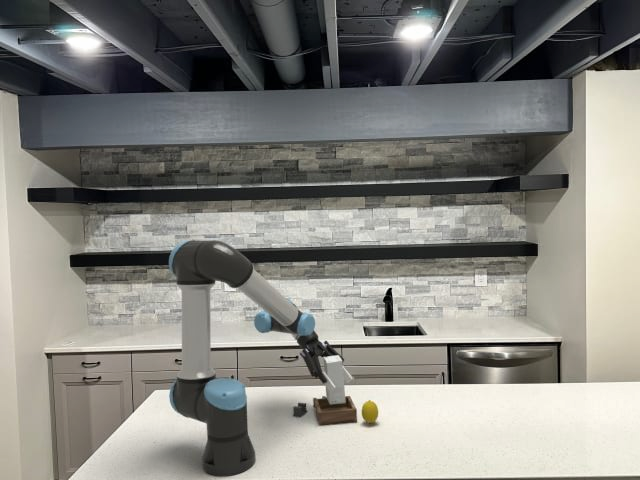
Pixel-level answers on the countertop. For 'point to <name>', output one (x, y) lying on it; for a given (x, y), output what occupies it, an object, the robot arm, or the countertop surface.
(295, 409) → the clip
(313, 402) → the clip
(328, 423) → the open wooden tray
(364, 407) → the lemon
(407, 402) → the countertop surface
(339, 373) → the skincare box
